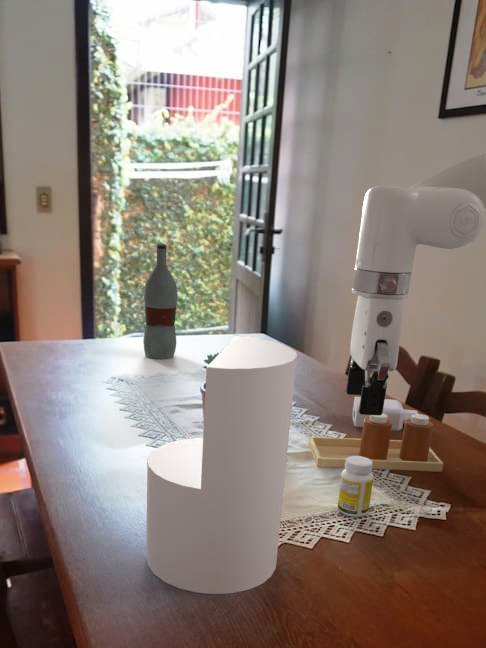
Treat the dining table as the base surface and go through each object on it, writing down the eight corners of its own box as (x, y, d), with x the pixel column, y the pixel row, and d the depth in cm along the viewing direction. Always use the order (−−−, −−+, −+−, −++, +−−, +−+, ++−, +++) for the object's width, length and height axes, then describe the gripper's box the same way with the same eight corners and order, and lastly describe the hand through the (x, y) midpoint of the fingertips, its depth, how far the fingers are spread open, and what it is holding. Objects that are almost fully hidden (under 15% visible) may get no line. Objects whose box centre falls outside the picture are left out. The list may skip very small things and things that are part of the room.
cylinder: (283, 537, 97) (303, 341, 86) (266, 604, 81) (288, 375, 70) (166, 520, 100) (171, 329, 89) (128, 581, 85) (128, 359, 74)
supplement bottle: (361, 503, 108) (368, 454, 105) (373, 517, 104) (381, 466, 101) (332, 504, 107) (339, 455, 104) (343, 518, 103) (350, 467, 100)
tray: (423, 450, 131) (425, 441, 131) (441, 474, 121) (443, 463, 120) (308, 446, 131) (309, 436, 130) (316, 468, 121) (318, 458, 120)
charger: (428, 436, 139) (354, 429, 141) (422, 421, 148) (351, 415, 150) (432, 413, 138) (357, 407, 139) (425, 400, 146) (354, 394, 148)
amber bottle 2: (422, 454, 128) (430, 412, 125) (430, 464, 124) (438, 421, 120) (396, 453, 128) (403, 411, 125) (403, 463, 124) (410, 420, 120)
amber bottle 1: (383, 452, 128) (389, 411, 125) (389, 462, 124) (396, 419, 120) (356, 451, 128) (362, 409, 125) (362, 461, 124) (368, 418, 120)
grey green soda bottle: (162, 350, 199) (164, 242, 187) (182, 356, 193) (186, 245, 181) (136, 354, 193) (137, 243, 181) (156, 361, 187) (158, 246, 175)
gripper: (426, 295, 85) (403, 424, 92) (392, 277, 101) (375, 388, 108) (366, 291, 85) (348, 421, 92) (342, 274, 101) (328, 386, 108)
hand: (363, 403), depth 100 cm, fingers open, 9 cm apart
